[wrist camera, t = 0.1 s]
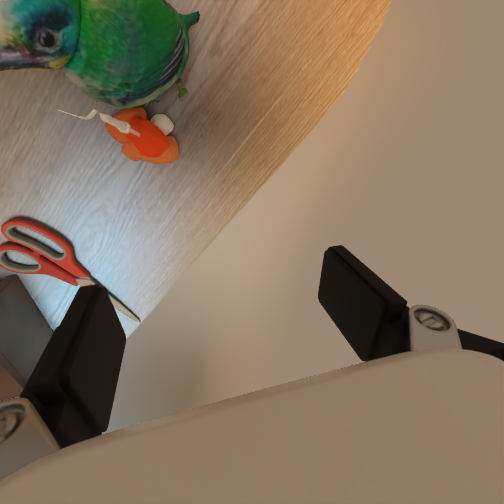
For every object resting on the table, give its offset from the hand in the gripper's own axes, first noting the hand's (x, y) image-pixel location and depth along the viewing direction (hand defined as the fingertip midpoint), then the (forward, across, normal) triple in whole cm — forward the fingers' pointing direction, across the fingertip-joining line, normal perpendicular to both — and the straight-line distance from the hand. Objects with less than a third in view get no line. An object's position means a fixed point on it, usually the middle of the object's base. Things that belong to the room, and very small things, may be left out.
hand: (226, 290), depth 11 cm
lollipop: (+24, +5, -4) cm, 25 cm away
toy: (+24, 0, -9) cm, 25 cm away
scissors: (+24, +16, +13) cm, 32 cm away
